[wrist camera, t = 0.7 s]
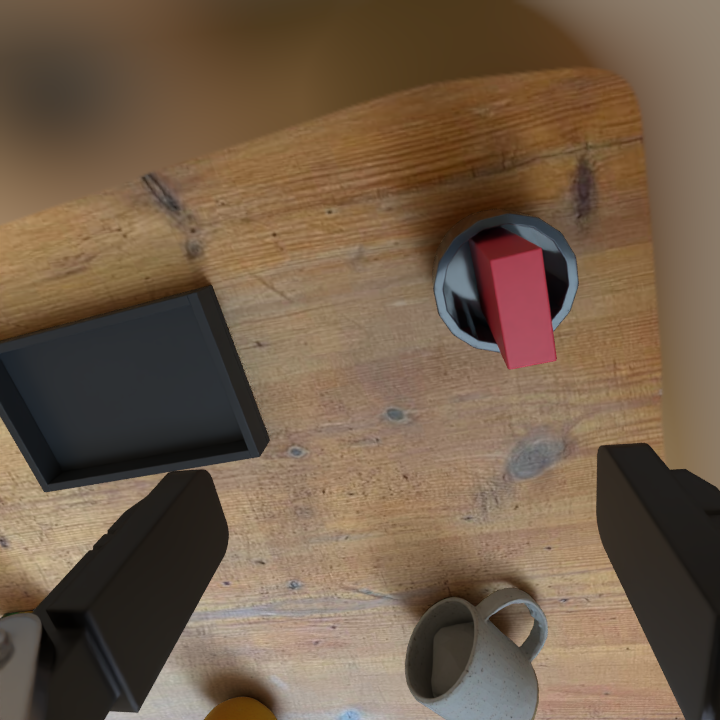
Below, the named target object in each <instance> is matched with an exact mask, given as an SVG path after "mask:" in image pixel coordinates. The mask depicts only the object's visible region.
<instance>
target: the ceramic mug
mask: <svg viewBox="0 0 720 720" xmlns="http://www.w3.org/2000/svg"><path fill="white" fill-rule="evenodd" d="M514 603H525V604H526V606H527V607H528V609H529V610H530V614H531V616H533V617H534V618H535V619H534V626H533V628H532V630H531V633H530V635H529V636H528V638H527V639H526V641H525V642H524V643H523V644H522V646H520V647H518V646H517V645H516V644H515V643H514V642H513V641H512V640H510V639H509V638H508V637H507V636H505V635H504V634H503V633H502V632H501V631H500V630H499V629H498V628H497V627H496V626H495V625H494V624H493V623H492V622H491V621H489V620H488V619H489V617H490V616H491V615H493V614H495V613H496V612H498V611H499V610H501V609H502V608H504V607H506V606H508V605H510V604H514ZM547 633H548V626H547V619H546V616H545V614H544V612H543V611H542V609H541V608H540V606H539V605H538V604H537V603H536V602H535V601H534V600H533V599H532V597H531V596H530V595H528V594H527V593H526V592H524V591H523V590H520V589H517V588H504V589H501V590H497V591H496V592H494V593H492V594H491V595H489V596H488V597H486V598H485V599H484V600H482V601H481V602H480V603H479V604H478V605H477V606H475V607H474V606H473V605H472V604H470V603H469V602H468V601H466V600H464V599H462V598H458V597H451V598H446V599H443V600H441V601H439V602H437V603H436V604H435V605H433V606H432V607H431V608H429V609H428V610H427V612H426V613H425V614H424V615H423V616H422V617H421V619H420V621H419V622H418V624H417V625H416V627H415V629H414V631H413V633H412V635H411V638H410V641H409V644H408V648H407V653H406V660H405V674H406V681H407V685H408V687H409V689H410V691H411V693H412V695H413V696H414V697H415V699H416V700H417V701H418V702H420V703H421V704H423V705H424V706H426V707H428V708H429V709H431V710H432V711H434V712H435V713H437V714H438V715H440V716H441V717H443V718H444V719H446V720H534V718H535V715H536V711H537V707H538V702H539V687H538V681H537V677H536V674H535V671H534V669H533V667H532V665H531V661H532V660H533V659H534V658H535V657H536V656H537V655H538V653H539V652H540V650H541V649H542V647H543V646H544V643H545V641H546V638H547Z"/></svg>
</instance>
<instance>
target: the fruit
mask: <svg viewBox="0 0 720 720" xmlns="http://www.w3.org/2000/svg"><path fill="white" fill-rule="evenodd" d="M204 720H277V719H276V717H275V716H274V714H273V713H272V712H271V711H270V710H269V709H268V708H267V707H266V706H265V705H263V704H262V703H260V702H259V701H257V700H255V699H253V698H250V697H236V698H232V699H229V700H226V701H224V702H222V703H220V704H218V705H217V706H216V707H215V708H214V709H213V710H212V711H211V712H210V713H209V714H208V715H207V716H206V717H205V719H204Z"/></svg>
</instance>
